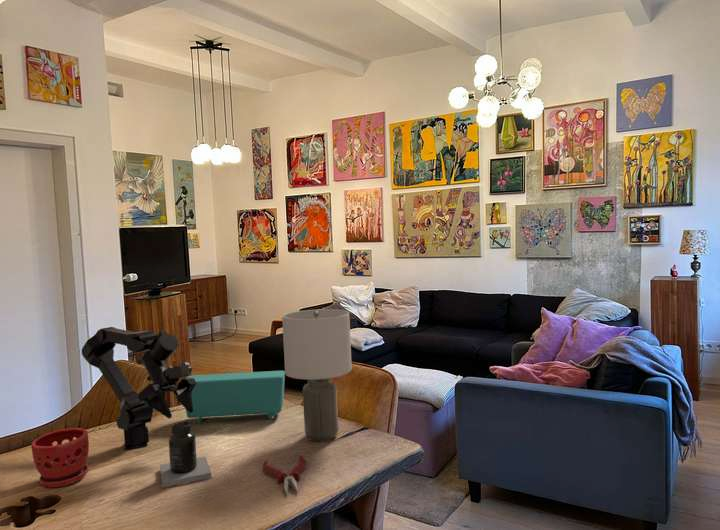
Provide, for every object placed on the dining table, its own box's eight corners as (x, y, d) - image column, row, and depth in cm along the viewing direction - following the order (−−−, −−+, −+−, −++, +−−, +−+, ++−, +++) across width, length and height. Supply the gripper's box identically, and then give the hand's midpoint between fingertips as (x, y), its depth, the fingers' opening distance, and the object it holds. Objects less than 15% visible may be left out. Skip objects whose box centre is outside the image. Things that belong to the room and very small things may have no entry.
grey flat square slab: (162, 488, 138) (162, 482, 138) (160, 470, 150) (160, 464, 149) (211, 478, 143) (211, 472, 143) (205, 461, 154) (205, 456, 154)
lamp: (367, 437, 167) (362, 310, 164) (308, 455, 155) (302, 318, 153) (332, 420, 183) (327, 305, 181) (277, 435, 172) (270, 312, 170)
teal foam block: (287, 410, 197) (285, 369, 196) (284, 420, 186) (282, 376, 186) (191, 416, 195) (188, 374, 194) (183, 426, 185) (180, 382, 184)
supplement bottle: (201, 468, 146) (199, 424, 145) (176, 476, 141) (173, 430, 141) (190, 461, 151) (188, 418, 150) (166, 469, 146) (163, 424, 146)
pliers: (268, 501, 130) (267, 491, 130) (262, 468, 149) (262, 458, 149) (316, 494, 133) (315, 484, 132) (304, 462, 152) (304, 453, 152)
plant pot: (53, 470, 153) (50, 428, 152) (100, 469, 152) (97, 426, 152) (23, 492, 140) (19, 446, 139) (74, 491, 139) (70, 444, 139)
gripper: (153, 355, 150) (178, 404, 146) (196, 351, 168) (220, 394, 163) (126, 378, 153) (150, 426, 148) (171, 371, 170) (195, 415, 166)
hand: (181, 414), depth 156 cm, fingers open, 9 cm apart
